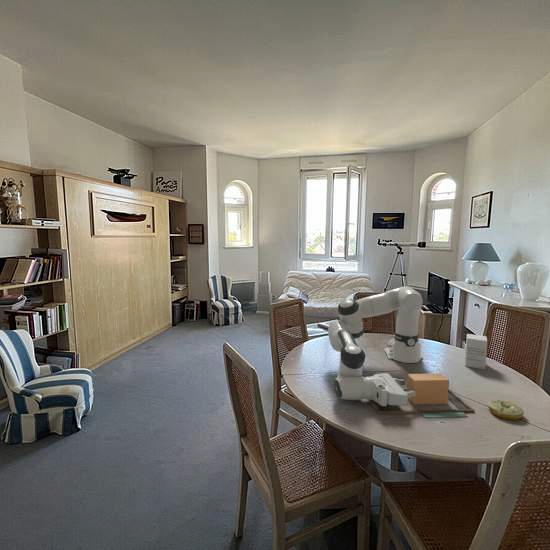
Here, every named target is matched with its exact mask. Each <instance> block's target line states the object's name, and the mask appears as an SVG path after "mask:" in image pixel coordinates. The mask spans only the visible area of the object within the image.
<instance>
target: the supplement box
mask: <svg viewBox="0 0 550 550" xmlns="http://www.w3.org/2000/svg"><path fill="white" fill-rule="evenodd" d="M487 352H488V337H487V336H486V335H479V334H478V335H477V334H473V333H472V334H471V333H466V343H465V357H464V359H465V360H464V362H465V363H464V366H465V367H469V368H474V369H481V370H486V367H487V366H486V365H487Z"/></svg>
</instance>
